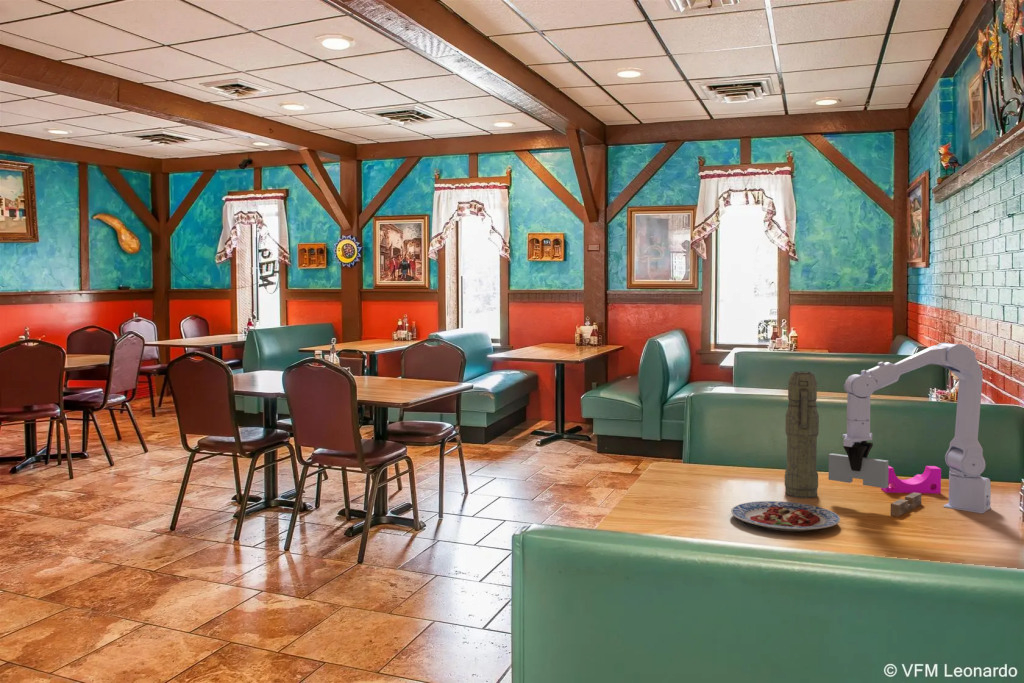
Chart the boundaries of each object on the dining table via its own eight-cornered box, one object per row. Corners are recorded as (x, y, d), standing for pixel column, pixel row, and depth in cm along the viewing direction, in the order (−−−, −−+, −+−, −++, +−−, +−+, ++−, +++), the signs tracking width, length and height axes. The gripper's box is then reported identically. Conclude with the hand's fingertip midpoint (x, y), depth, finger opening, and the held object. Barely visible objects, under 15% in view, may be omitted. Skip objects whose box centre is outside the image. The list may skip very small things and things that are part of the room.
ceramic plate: (755, 504, 218) (755, 493, 218) (853, 520, 202) (853, 508, 202) (713, 524, 198) (713, 512, 198) (819, 544, 182) (819, 531, 182)
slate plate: (888, 487, 210) (888, 460, 210) (885, 488, 209) (885, 461, 209) (831, 478, 221) (831, 453, 221) (828, 479, 219) (828, 454, 219)
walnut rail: (913, 503, 217) (913, 492, 217) (921, 504, 216) (921, 493, 216) (890, 515, 205) (890, 503, 205) (898, 516, 204) (898, 505, 204)
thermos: (789, 500, 222) (791, 374, 220) (780, 490, 233) (781, 370, 232) (823, 500, 221) (824, 374, 219) (812, 490, 232) (813, 370, 231)
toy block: (931, 489, 234) (931, 464, 234) (940, 494, 228) (941, 468, 227) (877, 489, 235) (878, 463, 235) (885, 494, 229) (886, 468, 229)
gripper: (854, 415, 222) (853, 463, 223) (832, 421, 212) (831, 471, 212) (880, 417, 217) (879, 467, 218) (859, 423, 207) (858, 475, 207)
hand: (857, 469), depth 215 cm, fingers closed on slate plate, 2 cm apart
